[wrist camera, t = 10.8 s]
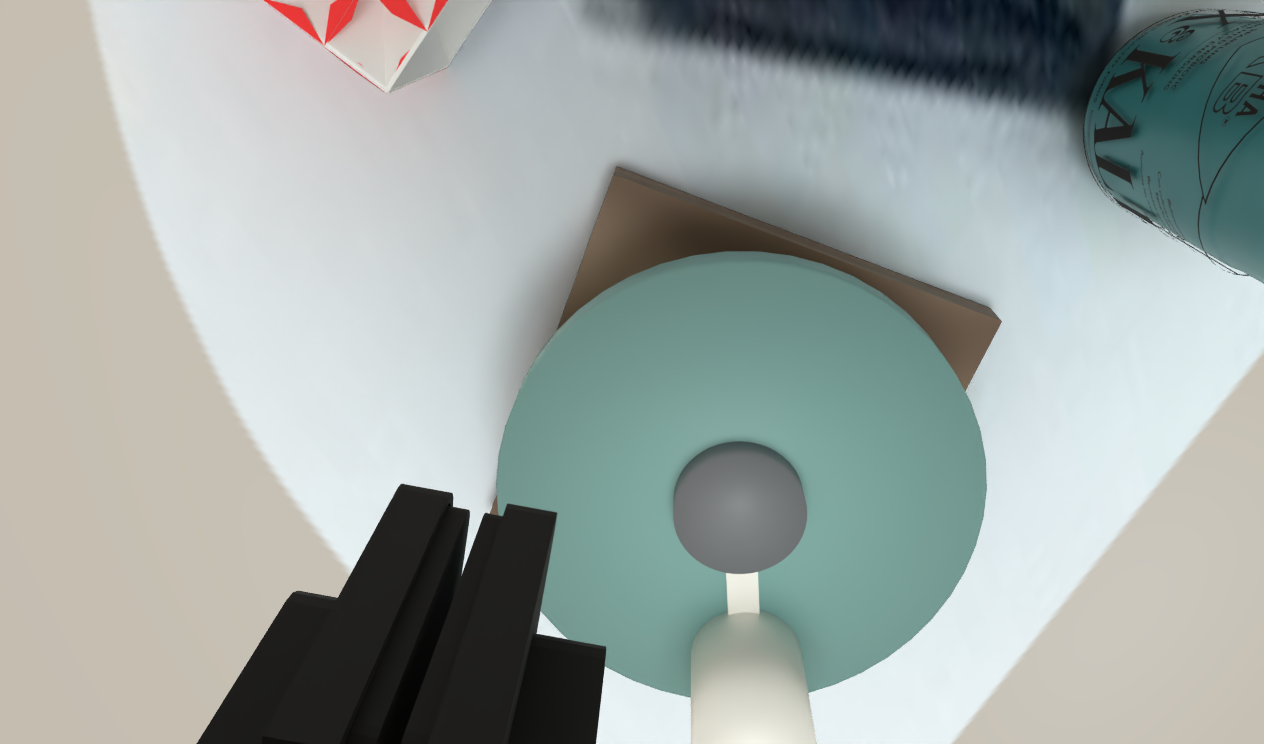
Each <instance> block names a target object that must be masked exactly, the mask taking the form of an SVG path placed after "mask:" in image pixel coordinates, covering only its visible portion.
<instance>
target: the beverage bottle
mask: <svg viewBox="0 0 1264 744" xmlns="http://www.w3.org/2000/svg"><path fill="white" fill-rule="evenodd" d="M1198 10H1200V9H1198ZM1210 10H1212V9H1210ZM1214 10H1216V9H1214ZM1224 10H1225V9H1222V10H1221V9H1220V10H1218V12H1219V14H1197V15H1189V16H1184V17H1181V15H1180V18H1176V17H1175V18H1172V19H1171V20H1170V21H1169V20H1168V21H1166V22H1163V23H1161V24H1159V25H1157V26H1156V27H1153V28H1151V29H1149V30H1148V31H1146V32H1144V33H1143V34H1141V35H1140V36H1138V37H1136V38H1135V39H1133V38H1134V37H1135V36H1134V37H1133V38H1132V39H1133V40H1132V41H1131V42H1130V43H1128V42H1129V41H1130V40H1131V39H1130V40H1129V41H1128V42H1127V43H1128V44H1127V43H1126V44H1127V45H1126V44H1125V45H1126V46H1125V45H1124V46H1123V47H1122V48H1121V49H1120V50H1119V51H1117V53H1116V54H1115V55H1114V56H1113V57H1112V59H1111V60H1110V61H1109V62H1108V64H1107V65H1106V67H1105V68H1104V70H1103V71H1102V73H1101V74H1100V76H1099V78H1098V80H1097V82H1096V84H1095V86H1094V88H1093V91H1092V94H1091V96H1090V99H1089V102H1088V106H1087V110H1086V114H1085V118H1086V119H1085V120H1084V126H1085V141H1086V148H1087V153H1088V156H1089V160H1090V163H1091V165H1092V168H1093V170H1094V172H1095V174H1096V177H1098V178H1097V180H1098V179H1099V182H1100V183H1102V184H1103V185H1102V184H1101V186H1102V187H1103V186H1104V187H1105V188H1106V189H1107V190H1108V191H1109V192H1110V194H1112V195H1113V196H1114V197H1115V198H1114V197H1113V198H1114V199H1115V200H1116V201H1117V202H1118V204H1119V205H1121V206H1122V207H1124V208H1126V209H1127V210H1129V211H1131V212H1132V213H1134V214H1136V215H1137V216H1139V218H1140V217H1141V218H1142V219H1144V220H1146V221H1147V222H1149V223H1151V224H1152V225H1154V224H1153V223H1152V221H1154V222H1155V223H1157V224H1159V225H1160V226H1162V227H1161V228H1163V227H1164V228H1166V229H1167V230H1168V231H1171V232H1172V233H1174V234H1176V235H1177V236H1176V237H1180V238H1181V239H1182V242H1183V240H1186V241H1187V242H1189V243H1191V244H1193V245H1194V246H1196V247H1198V248H1199V249H1201V250H1203V251H1204V252H1205V253H1206V255H1205V254H1204V255H1205V256H1207V257H1208V255H1207V253H1208V254H1209V255H1211V256H1213V257H1214V258H1216V259H1218V260H1219V261H1221V262H1223V263H1225V264H1227V265H1228V266H1230V267H1232V268H1235V269H1238V270H1240V271H1243V272H1244V273H1246V274H1248V275H1243V276H1249V275H1250V276H1251V277H1253V278H1255V279H1257V280H1259V281H1260V282H1262V283H1264V19H1261V18H1260V19H1256V18H1254V17H1256V16H1258V18H1259V16H1264V13H1259V14H1255V13H1256V12H1250V13H1254V14H1244V13H1245V12H1248V11H1244V13H1243V14H1225V13H1224ZM1191 11H1193V10H1191ZM1200 11H1206V10H1200ZM1235 11H1237V12H1238V10H1235ZM1187 12H1188V11H1187ZM1196 12H1198V11H1196ZM1182 13H1184V12H1182ZM1191 13H1192V12H1191ZM1240 13H1241V12H1240ZM1179 14H1180V13H1179ZM1187 14H1190V13H1187ZM1187 14H1186V15H1187ZM1176 15H1177V14H1176ZM1183 15H1184V14H1183ZM1173 16H1174V15H1173ZM1238 16H1251V17H1252V16H1254V17H1253V18H1247V17H1238ZM1170 17H1171V16H1170ZM1178 17H1179V16H1178ZM1167 18H1169V17H1167ZM1165 19H1166V18H1165ZM1163 20H1164V19H1163ZM1161 21H1162V20H1161ZM1159 22H1160V21H1159ZM1156 23H1158V22H1156ZM1156 23H1154V24H1156ZM1154 24H1152V25H1154ZM1152 25H1151V26H1152ZM1149 27H1150V26H1149ZM1149 27H1147V28H1149ZM1147 28H1146V29H1147ZM1144 30H1145V29H1144ZM1144 30H1143V31H1144ZM1141 32H1142V31H1141ZM1139 33H1140V32H1139ZM1139 33H1138V34H1139ZM1138 34H1137V35H1138ZM1137 35H1136V36H1137ZM1083 142H1084V128H1083ZM1084 149H1085V144H1084ZM1085 155H1086V151H1085ZM1086 159H1087V156H1086ZM1087 162H1088V160H1087ZM1088 166H1089V163H1088ZM1089 168H1090V167H1089ZM1090 171H1091V169H1090ZM1091 173H1092V172H1091ZM1092 175H1093V174H1092ZM1093 177H1094V176H1093ZM1094 179H1095V178H1094ZM1095 181H1096V180H1095ZM1097 184H1098V183H1097ZM1098 186H1099V185H1098ZM1099 187H1100V186H1099ZM1104 187H1103V188H1104ZM1100 189H1101V188H1100ZM1101 190H1102V189H1101ZM1104 190H1105V189H1104ZM1105 192H1106V191H1105ZM1107 194H1108V193H1107ZM1105 195H1106V194H1105ZM1106 196H1107V195H1106ZM1107 197H1108V196H1107ZM1109 197H1111V196H1109ZM1111 199H1112V198H1111ZM1111 199H1110V200H1111ZM1117 199H1118V200H1117ZM1112 200H1113V199H1112ZM1112 200H1111V201H1112ZM1119 205H1118V206H1119ZM1127 210H1126V211H1127ZM1127 212H1128V211H1127ZM1130 214H1131V213H1130ZM1132 215H1133V214H1132ZM1136 218H1137V217H1136ZM1144 220H1143V222H1144V223H1146V222H1145V221H1144ZM1151 220H1152V221H1151ZM1148 225H1149V224H1148ZM1154 226H1156V225H1154ZM1157 227H1158V226H1157ZM1158 228H1159V227H1158ZM1161 228H1160V229H1161ZM1164 228H1163V229H1164ZM1163 229H1162V230H1163ZM1163 231H1165V230H1163ZM1161 232H1162V231H1161ZM1165 232H1166V231H1165ZM1162 233H1163V232H1162ZM1167 233H1168V232H1167ZM1172 233H1171V234H1172ZM1163 234H1164V233H1163ZM1169 234H1170V232H1169ZM1171 234H1170V235H1171ZM1166 236H1167V235H1166ZM1172 236H1173V235H1172ZM1172 236H1171V237H1172ZM1173 237H1175V236H1173ZM1176 237H1175V238H1176ZM1169 238H1170V237H1169ZM1173 239H1174V238H1173ZM1177 239H1179V238H1177ZM1179 240H1180V239H1179ZM1180 241H1181V240H1180ZM1176 242H1177V241H1176ZM1184 243H1185V242H1184ZM1185 244H1187V243H1185ZM1187 246H1188V244H1187ZM1189 246H1190V245H1189ZM1190 247H1192V246H1190ZM1190 247H1189V248H1190ZM1192 248H1193V247H1192ZM1190 249H1191V248H1190ZM1194 249H1195V248H1194ZM1195 250H1197V249H1195ZM1197 251H1198V250H1197ZM1199 252H1200V251H1199ZM1200 253H1202V252H1200ZM1202 254H1203V253H1202ZM1208 258H1209V259H1210V260H1211V259H1212V258H1210V257H1208ZM1212 260H1213V259H1212ZM1212 260H1211V261H1212ZM1214 261H1215V260H1214ZM1212 262H1213V261H1212ZM1215 262H1217V261H1215ZM1217 263H1218V262H1217ZM1219 264H1220V263H1219ZM1221 265H1222V264H1221ZM1222 266H1224V265H1222ZM1224 267H1225V266H1224ZM1226 268H1227V267H1226ZM1227 269H1229V268H1227ZM1222 270H1223V269H1222ZM1229 270H1230V269H1229ZM1224 271H1225V270H1224ZM1231 271H1232V270H1231ZM1232 272H1234V271H1232ZM1229 273H1230V272H1229ZM1234 273H1235V272H1234ZM1232 274H1233V273H1232ZM1236 275H1240V274H1237V273H1236Z"/></svg>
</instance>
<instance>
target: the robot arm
mask: <svg viewBox="0 0 1264 744" xmlns="http://www.w3.org/2000/svg"><path fill="white" fill-rule="evenodd" d="M469 518H470V511H469V510H467V509H461V508H456V507H453V493H449V492H444V491H438V490H433V489H427V488H422V487H416V486H411V485H405V484H400V486H399V487H398V489H397V491H396V492H395V494H394V496H393V498H392V500H391V502H390V503H389V505H388V507H387V509H386V511H385V512H384V514H383V516H382V518H381V520H380V522H379V523H378V525H377V527H376V529H375V531H374V533H373V534H372V536H371V538H370V540H369V542H368V544H367V545H366V547H365V549H364V551H363V553H362V555H361V556H360V558H359V560H358V562H357V564H356V566H355V567H354V569H353V571H352V573H351V575H350V576H349V578H348V580H347V582H346V584H345V586H344V587H343V589H342V591H341V593H340V595H339V597H338V598H335V597H330V596H324V595H319V594H313V593H308V592H302V591H296V592H293V593H292V594H291V595H290V597H289V598H288V599H287V600H286V602H285V603H284V605H283V607H282V608H281V610H280V611H279V613H278V615H277V616H276V618H275V619H274V621H273V623H272V624H271V626H270V627H269V629H268V631H267V632H266V634H265V635H264V637H263V639H262V640H261V642H260V643H259V645H258V647H257V648H256V650H255V651H254V653H253V655H252V656H251V658H250V660H249V661H248V663H247V664H246V666H245V667H244V669H243V671H242V672H241V674H240V675H239V677H238V679H237V680H236V682H235V683H234V685H233V687H232V688H231V690H230V691H229V693H228V695H227V696H226V698H225V699H224V701H223V703H222V704H221V706H220V707H219V709H218V710H217V712H216V714H215V715H214V717H213V719H212V720H211V722H210V724H209V725H208V726H207V728H206V730H205V731H204V733H203V734H202V736H201V738H200V739H199V741H198V743H197V744H596V737H597V729H598V720H599V711H600V703H601V694H602V685H603V676H604V668H605V659H606V646H601V645H595V644H590V643H584V642H579V641H573V640H568V639H562V638H556V637H551V636H545V635H540V634H536V633H537V628H538V622H539V616H540V611H541V605H542V599H543V594H544V588H545V582H546V577H547V571H548V566H549V560H550V554H551V549H552V543H553V537H554V532H555V526H556V520H557V512H553V511H547V510H542V509H536V508H531V507H525V506H520V505H514V504H509V503H508V504H507V505H506V508H505V511H504V514H503V516H499V515H494V514H488V513H485V514H484V516H483V519H482V521H481V524H480V527H479V529H478V532H477V535H476V538H475V540H474V543H473V546H472V549H471V551H470V554H469V557H468V560H467V562H466V565H465V568H464V571H463V573H462V568H463V561H464V554H465V547H466V540H467V533H468V526H469ZM461 575H462V576H461Z"/></svg>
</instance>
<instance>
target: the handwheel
mask: <svg viewBox="0 0 1264 744" xmlns="http://www.w3.org/2000/svg"><path fill="white" fill-rule="evenodd" d="M496 487H497V503H498V514H499V516H503V514H504V511H505V508H506V505H507V504H508V503H509V504H514V505H520V506H525V507H531V508H536V509H542V510H547V511H553V512H557V520H556V526H555V532H554V537H553V543H552V549H551V554H550V560H549V566H548V571H547V577H546V582H545V588H544V594H543V599H542V605H541V612H542V613H543V614H544V615H545V616H546V617H547V618H548V619H549V621H550V622H551V623H552V624H553V625H554V626H555V627H556V628H557V629H558V630H559V631H560V632H561V633H562V634H563V635H564V636H565V637H566V638H567V639H569V640H573V641H579V642H584V643H590V644H595V645H601V646H606V659H605V666H606V667H607V668H609V669H611V670H613V671H615V672H617V673H619V674H621V675H623V676H625V677H627V678H629V679H631V680H633V681H636V682H639V683H642V684H644V685H647V686H650V687H653V688H655V689H658V690H661V691H665V692H669V693H673V694H678V695H682V696H686V697H691V744H817V743H816V737H815V731H814V725H813V719H812V713H811V707H810V701H809V695H808V693H809V692H812V691H815V690H819V689H822V688H825V687H828V686H831V685H834V684H837V683H839V682H841V681H844V680H846V679H848V678H850V677H853V676H855V675H857V674H859V673H862V672H863V671H865V670H867V669H869V668H870V667H872V666H874V665H875V664H877V663H879V662H880V661H882V660H884V659H886V658H887V657H889V656H890V655H891V654H893V653H894V652H895V651H896V650H898V649H899V648H900V647H902V646H903V645H904V644H906V643H907V642H908V641H910V640H911V639H912V638H913V637H914V636H915V635H916V634H917V633H918V632H919V631H920V630H921V629H922V628H923V627H924V626H925V625H926V624H927V623H928V622H929V621H930V620H931V619H932V618H933V617H934V616H935V614H936V613H937V612H938V611H939V609H940V608H941V607H942V606H943V604H944V603H945V602H946V601H947V599H948V598H949V597H950V595H951V594H952V592H953V590H954V589H955V587H956V585H957V584H958V582H959V580H960V579H961V577H962V575H963V574H964V572H965V570H966V567H967V565H968V563H969V560H970V558H971V555H972V553H973V551H974V548H975V546H976V543H977V539H978V535H979V532H980V528H981V524H982V521H983V516H984V507H985V499H986V490H987V484H986V459H985V453H984V448H983V442H982V437H981V431H980V428H979V425H978V422H977V419H976V417H975V414H974V411H973V408H972V405H971V402H970V400H969V398H968V396H967V395H966V393H965V391H964V389H963V387H962V385H961V383H960V381H959V379H958V377H957V375H956V374H955V372H954V371H953V369H952V368H951V366H950V365H949V363H948V362H947V360H946V359H945V357H944V356H943V354H942V353H941V352H940V350H939V349H938V348H937V346H936V345H935V343H934V342H933V341H932V339H931V338H930V336H929V335H928V334H927V333H926V332H925V331H924V330H923V329H922V328H921V326H920V325H919V324H918V323H917V322H916V321H915V320H914V319H913V318H912V317H911V316H910V315H909V314H908V313H907V312H906V311H905V310H903V309H902V308H901V307H899V306H898V305H897V304H896V303H894V302H893V301H892V300H890V299H889V298H888V297H887V296H885V295H884V294H883V293H881V292H880V291H878V290H876V289H875V288H873V287H871V286H869V285H868V284H866V283H864V282H862V281H861V280H859V279H857V278H855V277H854V276H851V275H849V274H846V273H844V272H842V271H839V270H837V269H834V268H832V267H829V266H827V265H824V264H821V263H817V262H814V261H810V260H806V259H802V258H798V257H795V256H790V255H782V254H774V253H767V252H754V251H725V252H718V253H710V254H702V255H694V256H689V257H686V258H682V259H678V260H674V261H670V262H666V263H662V264H659V265H657V266H654V267H652V268H649V269H647V270H644V271H642V272H639V273H637V274H634V275H632V276H630V277H628V278H626V279H624V280H623V281H621V282H619V283H617V284H615V285H614V286H612V287H610V288H608V289H607V290H605V291H603V292H602V293H600V294H599V295H598V296H596V297H595V298H594V299H592V300H591V301H590V302H588V303H587V304H586V305H584V306H583V307H582V308H580V309H579V310H578V311H577V312H576V313H575V314H574V315H573V316H572V317H570V318H569V319H568V320H567V321H566V322H565V323H564V324H563V325H562V326H561V327H560V328H559V329H558V330H557V331H556V332H555V334H554V335H553V336H552V338H551V339H550V340H549V341H548V343H547V344H546V345H545V347H544V348H543V349H542V351H541V352H540V353H539V354H538V356H537V358H536V359H535V361H534V363H533V365H532V366H531V368H530V370H529V372H528V373H527V375H526V377H525V379H524V380H523V383H522V385H521V388H520V390H519V393H518V395H517V398H516V400H515V403H514V406H513V408H512V411H511V413H510V416H509V418H508V421H507V424H506V426H505V430H504V434H503V439H502V443H501V447H500V451H499V457H498V469H497V481H496Z"/></svg>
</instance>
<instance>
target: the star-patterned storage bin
mask: <svg viewBox="0 0 1264 744" xmlns="http://www.w3.org/2000/svg"><path fill="white" fill-rule="evenodd" d="M263 1H264V2H265V3H267V4H268V5H269V6H271V7H272V8H273V9H275V10H276V11H277V12H279V13H280V14H281V15H283V16H284V17H285V18H287V19H288V20H289V21H291V22H292V23H293V24H295V25H296V26H297V27H299V28H300V29H301V30H303V31H304V32H305V33H307V34H308V35H309V36H311V37H312V38H313V39H315V40H316V41H317V42H319V43H320V44H321V45H323V46H324V47H326V48H327V50H330V52H331V53H332V54H334V55H335V56H336V57H337V58H339V59H340V60H341V61H342V62H344V63H345V64H346V65H348V66H349V67H350V68H351V69H353V70H354V71H355V72H356V73H358V74H359V75H361V76H362V77H364V78H365V79H366V80H368V81H369V82H371V83H372V84H373V85H375V86H376V87H378V88H379V89H382V91H383V92H386V93H387V94H388V93H390V92H392V91H395V90H397V89H399V88H401V87H404V86H406V85H408V84H410V83H413V82H415V81H417V80H420V79H422V78H424V77H427V76H429V75H431V74H433V73H436V72H438V71H440V70H443V69H445V68H447V67H448V66H449V64H450V62H451V61H452V59H453V58H454V56H455V55H456V53H457V52H458V50H459V49H460V47H461V46H462V44H463V43H464V41H465V40H466V39H467V37H468V36H469V34H470V33H471V31H472V30H473V28H474V27H475V25H476V24H477V22H478V21H479V19H480V18H481V16H482V15H483V13H484V12H485V10H486V9H487V7H488V6H489V4H490V3H491V1H492V0H263Z"/></svg>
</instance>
